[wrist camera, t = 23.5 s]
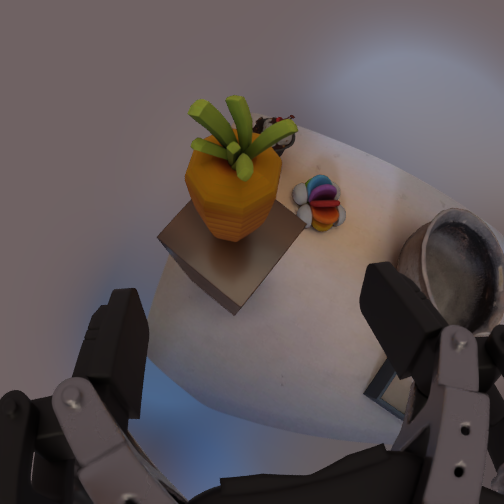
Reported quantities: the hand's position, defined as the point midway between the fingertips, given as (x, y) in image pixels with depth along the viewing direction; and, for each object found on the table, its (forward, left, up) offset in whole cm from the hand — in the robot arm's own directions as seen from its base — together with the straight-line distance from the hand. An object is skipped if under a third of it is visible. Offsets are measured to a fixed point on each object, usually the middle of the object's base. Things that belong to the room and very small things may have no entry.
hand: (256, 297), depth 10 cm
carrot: (+5, +5, -13) cm, 15 cm away
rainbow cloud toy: (+24, +1, -37) cm, 44 cm away
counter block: (+5, +5, -37) cm, 38 cm away
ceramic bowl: (+26, -25, -37) cm, 52 cm away
